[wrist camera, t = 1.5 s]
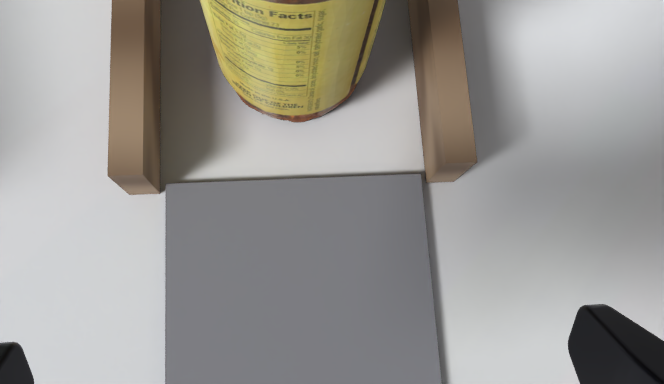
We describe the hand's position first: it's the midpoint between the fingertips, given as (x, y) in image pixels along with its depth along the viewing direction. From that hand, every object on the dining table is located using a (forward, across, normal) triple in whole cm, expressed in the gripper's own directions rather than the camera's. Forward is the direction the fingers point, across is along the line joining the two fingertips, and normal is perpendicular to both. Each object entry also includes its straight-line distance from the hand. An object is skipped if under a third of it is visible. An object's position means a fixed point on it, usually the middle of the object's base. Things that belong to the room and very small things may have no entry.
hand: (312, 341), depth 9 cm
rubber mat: (+10, 0, +9) cm, 14 cm away
